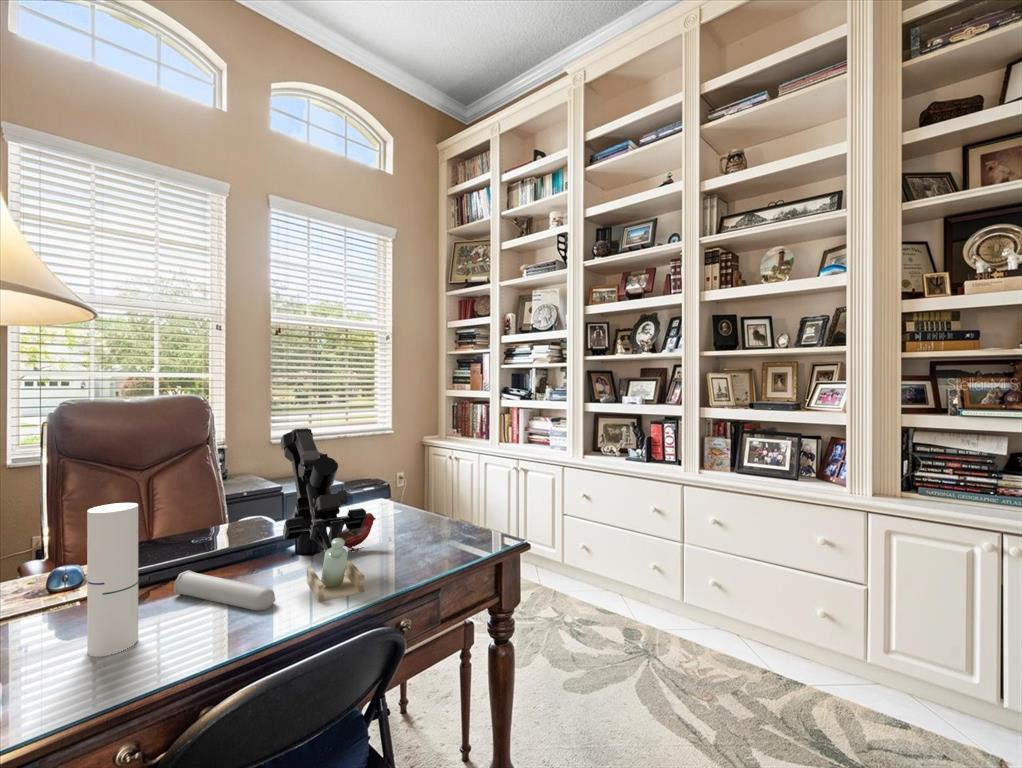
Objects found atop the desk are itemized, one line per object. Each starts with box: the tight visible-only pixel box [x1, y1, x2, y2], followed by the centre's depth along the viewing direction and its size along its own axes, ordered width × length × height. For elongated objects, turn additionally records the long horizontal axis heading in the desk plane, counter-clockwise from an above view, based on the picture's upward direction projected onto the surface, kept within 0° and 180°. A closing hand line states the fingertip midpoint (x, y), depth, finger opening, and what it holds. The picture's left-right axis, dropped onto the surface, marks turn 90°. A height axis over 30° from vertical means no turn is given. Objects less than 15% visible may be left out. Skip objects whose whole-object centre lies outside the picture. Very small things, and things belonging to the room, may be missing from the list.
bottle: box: [320, 538, 349, 587], centre depth 113 cm, size 5×5×11 cm
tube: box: [173, 569, 276, 612], centre depth 107 cm, size 5×5×25 cm
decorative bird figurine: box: [337, 512, 377, 553], centre depth 137 cm, size 3×18×10 cm, turn 138°
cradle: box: [306, 559, 365, 603], centre depth 113 cm, size 12×10×4 cm
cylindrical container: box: [86, 502, 139, 658], centre depth 89 cm, size 7×7×25 cm
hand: (332, 555), depth 115 cm, fingers closed
